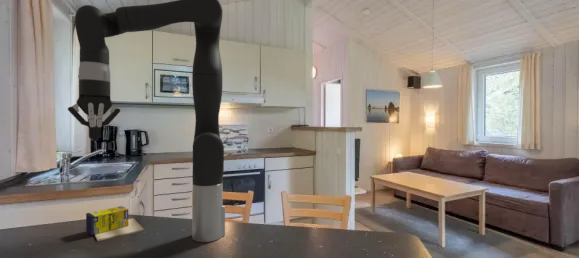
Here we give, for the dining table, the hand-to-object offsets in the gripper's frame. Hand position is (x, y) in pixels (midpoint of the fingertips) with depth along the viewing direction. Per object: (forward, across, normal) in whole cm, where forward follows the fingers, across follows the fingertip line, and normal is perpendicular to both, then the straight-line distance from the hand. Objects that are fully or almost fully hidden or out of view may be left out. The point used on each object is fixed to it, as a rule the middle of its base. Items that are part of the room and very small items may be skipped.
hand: (95, 140), depth 82 cm
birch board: (+31, +8, +11) cm, 34 cm away
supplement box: (+28, -1, +12) cm, 30 cm away
